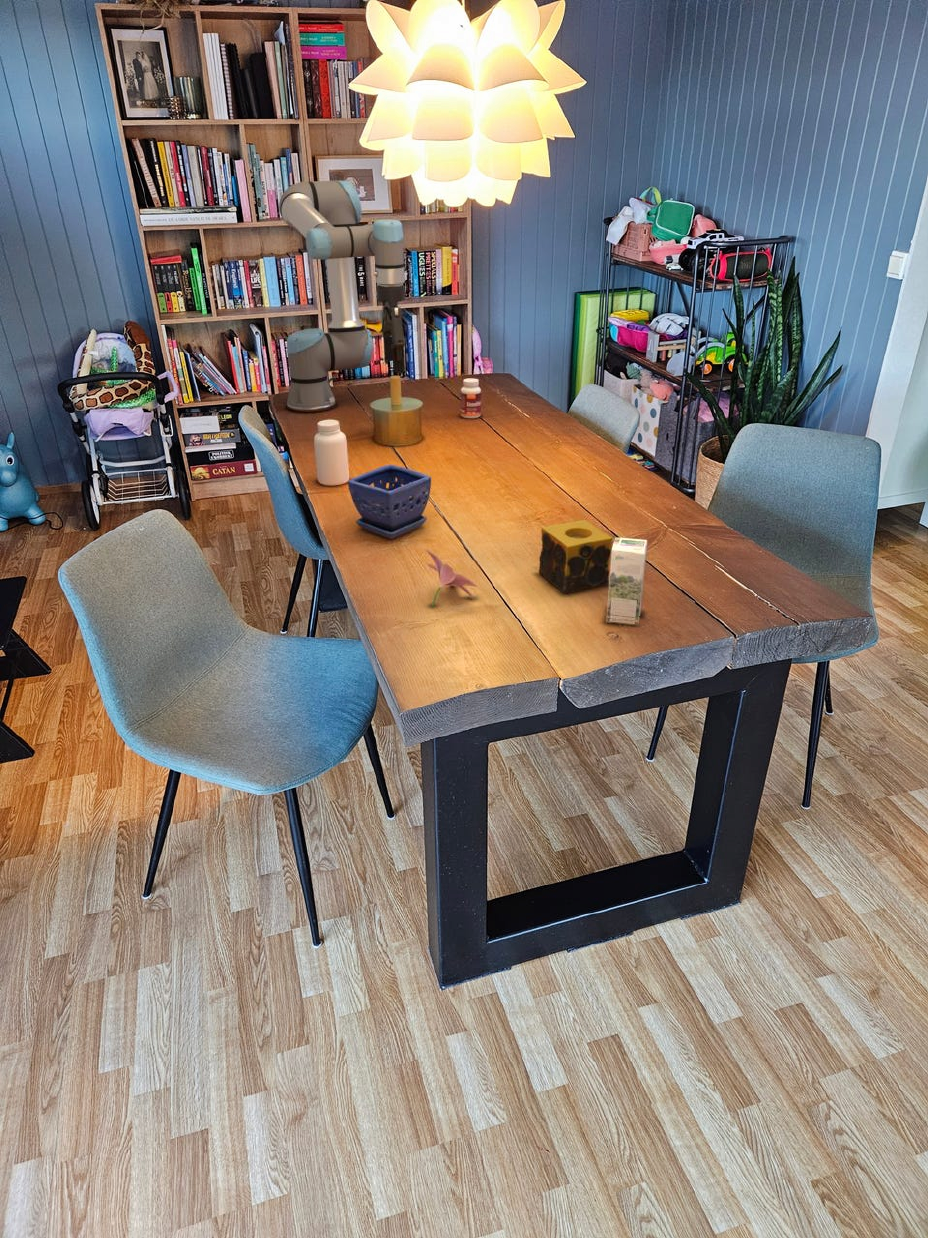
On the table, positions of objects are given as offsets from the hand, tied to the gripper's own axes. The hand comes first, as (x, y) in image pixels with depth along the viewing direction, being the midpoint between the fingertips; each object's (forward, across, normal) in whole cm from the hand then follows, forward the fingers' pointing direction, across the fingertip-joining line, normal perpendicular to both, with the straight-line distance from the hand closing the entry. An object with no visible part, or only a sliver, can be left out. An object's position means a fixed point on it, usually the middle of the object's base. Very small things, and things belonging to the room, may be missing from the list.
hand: (394, 366), depth 242 cm
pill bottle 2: (+21, -16, +26) cm, 37 cm away
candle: (+19, +100, +15) cm, 102 cm away
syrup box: (+19, +116, +18) cm, 119 cm away
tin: (+20, 0, 0) cm, 20 cm away
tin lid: (+11, 0, 0) cm, 11 cm away
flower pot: (+20, +64, -14) cm, 69 cm away
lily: (+19, +100, -10) cm, 103 cm away
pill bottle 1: (+20, +30, -22) cm, 43 cm away
